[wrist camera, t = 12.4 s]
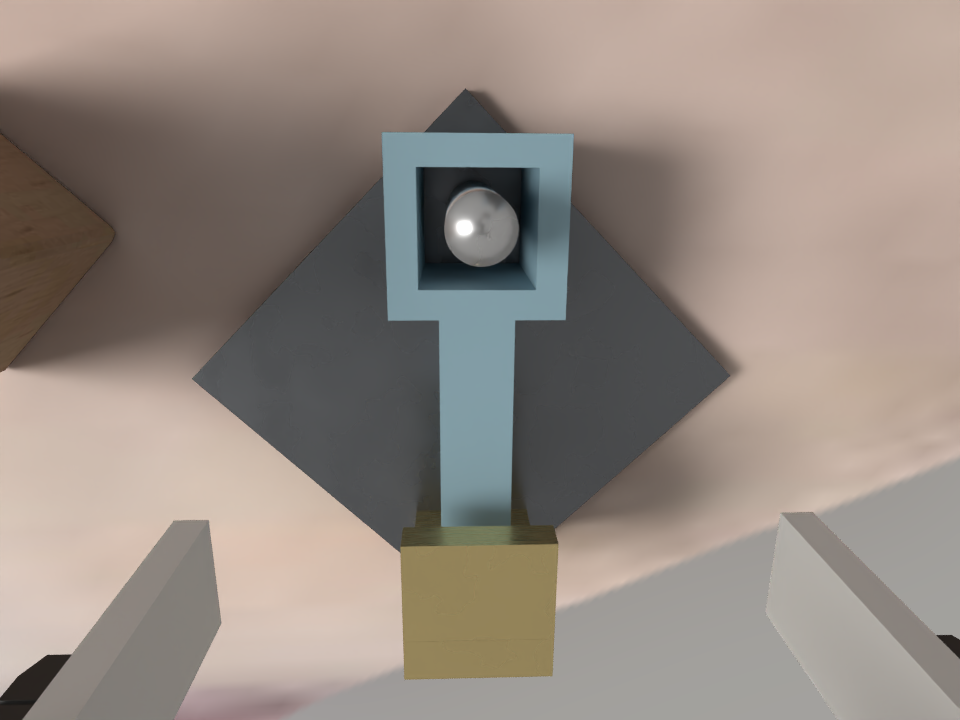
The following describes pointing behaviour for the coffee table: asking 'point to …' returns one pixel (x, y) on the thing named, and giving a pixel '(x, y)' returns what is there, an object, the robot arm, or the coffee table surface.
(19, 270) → the wooden block
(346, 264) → the plate
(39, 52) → the coffee table surface
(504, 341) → the link
